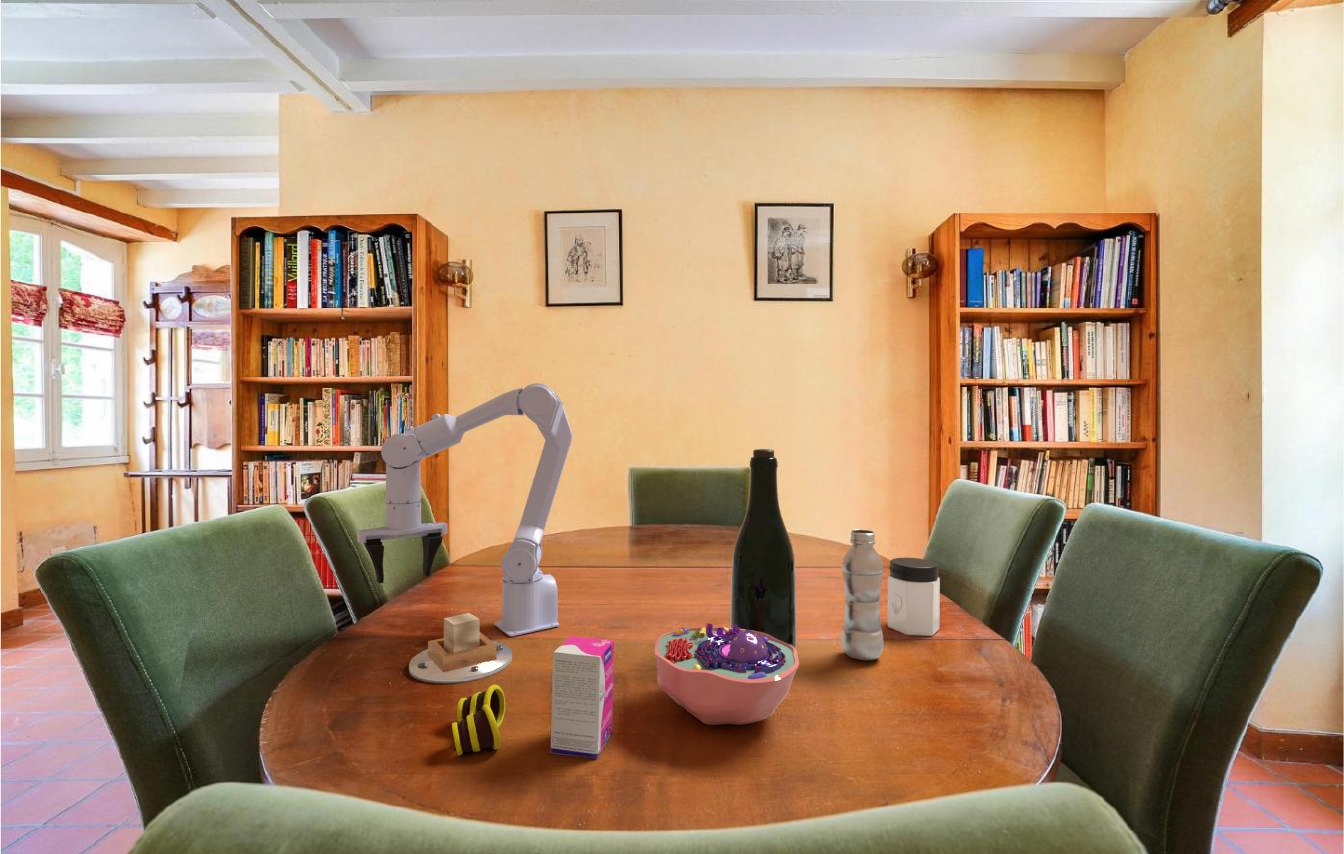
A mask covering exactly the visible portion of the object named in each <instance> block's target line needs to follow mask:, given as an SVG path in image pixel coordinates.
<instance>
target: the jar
mask: <svg viewBox="0 0 1344 854" xmlns="http://www.w3.org/2000/svg"><path fill="white" fill-rule="evenodd" d="M940 580H941V579H940V577H939V564H938V563H936V562H935V561H934V560H933V561H932V560H931V559H925V558H920V557H919V558H918V557H897V558H896V557H895V558H892V559H891V560H890V561H889V575H888V576H887V627H888V628H890V629H892V630H893V631H897V632H898V633H902V634H903V635H906V636H919V637H920V636H921V637H923V636H924V637H926V636H927V637H933V636H934V635H935V634H936V633H937V632H938V631H939V630H940V610H941V609H940V607H941V606H940V605H941V604H940V603H941V602H940V600H941V599H940V597H941V596H940V593H941V592H940V588H941V587H940V586H941V585H940V584H941V583H940V582H941V581H940Z"/></svg>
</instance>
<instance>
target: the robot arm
mask: <svg viewBox="0 0 1344 854" xmlns="http://www.w3.org/2000/svg"><path fill="white" fill-rule="evenodd" d="M566 412H567V411H566V409H565V406H564V403H563V401H562V400H561V398H560V397H559V395H558V394H557V393H556V391H555V390H553V389H552V388H551V387H550V386H548V385H546V384H544V383H541V382H534V383H530V384H528V385H527V386H525V387H523V388H522V387H519V388H515V389H512V390H510V391H506V392H505V393H502V394H500V395H498V396H495V397H494V398H492V399H490V400H488V401H485V402H484V403H482V404H479V405H477V406H475V407H473V408H471V409H469V410H468V411H465V412H463V413H461V414H460V415H458V416H454V415H451V414H448V413H444V414H442V415H441V414H440V413H435V414H433V415H431V416H430V418H431V420H429V421H427V422H424V423H422V424H420V425H417V426H416V427H414V426H409V427H407V428H406V429H405V430H406V433H394V434H392V435H391V436H390V437H388V438H387V439H386V440H385V441H384V442H383V444H382V445H381V449H380V453H381V457H382V460H383V461H384V462H385V470H386V472H385V526H379V527H375V528H374V527H373V528H367V529H359V530H356V533H357V535H356V540H357V542H358V544H363V546H364V548H365V549H366V551H367V553H368V556H369V557H370V561H371V563H372V566H373V568H374V571H375V576H376V582H377V583H378V584H384V581H385V577H384V573H385V572H384V555H385V554H384V552H385V546H384V545H383V541H386V540H394V539H395V540H396V539H407V538H414V537H417V538H418V537H421V543H422V552H423V553H422V554H423V556H422V558H423V559H422V575H423V576H424V577H426V578H428V577H431V571H432V566H433V563H434V560H435V558H436V554H437V553H438V550H439V549H440V547H441V545H442V543H443V541H444V540H443V538H444V536H443V535H448V523H446V522H443V521H442V522H427V523H426V522H425V523H422V476H421V475H422V474H421V463H422V461H423V459H425V458H430V457H431V456H434V455H436V454H438V453H440V452H443V451H445V450H447V449H449V448H451V447H454V446H456V445H458V444H460V443H461V442H462V439H463V437H464V434H465V433H466V432H468V431H471V430H473V429H475V428H478V427H481V426H483V425H485V424H488V423H491V422H492V421H495V420H497V419H499V418H502V417H504V416H524V415H525V416H526V417H527V418H528V419H530V421H532V422H533V423H534V424H535V425H536V426H537V429H538V430H539V432H540V434H541V435H542V437H543V438H544V440H545V441H544V444H543V448H542V450H541V454H540V457H539V460H538V463H537V467H536V470H535V473H534V477H533V480H532V484H531V486H530V490H529V492H528V496H527V498H526V499H527V500H526V502H525V504H524V505H525V506H524V509H523V512H522V516H521V518H520V522H519V525H518V527H517V530H516V533H515V536H514V539H513V541H512V543H511V544H510V546H509V547H508V549H507V551H505V552H504V554H503V556H502V558H501V563H500V564H501V570H502V573H503V574H502V577H501V578H502V579H501V583H502V584H501V589H502V590H501V594H502V595H501V602H502V603H501V615H502V616H501V620H498V621H494V623H493V624H494V626H496V627H497V628H498V630H501V631H502V632H503V633H504V634H505V635H507V636H508V637H514V636H520V635H526V634H528V633H529V634H530V633H534V632H537V631H544V630H548V629H551V628H556V627H560V623H559V622H558V619H559V618H558V611H559V610H558V608H559V607H558V605H559V604H558V603H559V602H558V594H559V593H558V586H557V582H556V581H557V580H556V579H555V577H554V576H553V575H552V574H548V573H547V574H544V573H543V571H542V570H541V569H540V567H539V563H540V562H541V561H542V558H543V546H542V540H543V536H544V533H545V528H546V526H547V522H548V519H549V516H550V512H551V509H552V507H553V503H554V500H555V497H556V493H557V490H558V486H559V483H560V480H561V476H562V474H563V471H564V467H565V464H566V460H567V457H568V453H569V451H570V447H571V445H572V441H573V430H572V428H571V424H570V422H569V419H568V416H567V413H566Z"/></svg>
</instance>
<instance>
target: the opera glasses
mask: <svg viewBox="0 0 1344 854" xmlns="http://www.w3.org/2000/svg"><path fill="white" fill-rule="evenodd" d="M456 709H457V710H456V714H457V715H456V717H457V721H456V722H452V723H451V728H452V735H453V740H454V745H455V746H454V747H455V750H456V755H457V756H458V757H460V756H461V755H463V753H464V752H466V753H469V752H471V751H473V752H474V753H476V752H480V751H481V750H482V749H488V748H492V749H493V750H495V751H496V750H499V748H500V747H501V735H500V730H499V727H500V726H501V725H502V723H503V720H504V717H505V712H506V698H505V693H504V691H503V689H502V688H501V687H500V685H498V684H492V685H490V686H489V687H488V688H487V689H486V690H484V691H478V692H476V693H474V694H473V695H470V696H469V697H468V696H467V697H461V698H460V699H459V700H458V703H457V707H456Z"/></svg>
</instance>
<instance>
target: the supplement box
mask: <svg viewBox="0 0 1344 854" xmlns="http://www.w3.org/2000/svg"><path fill="white" fill-rule="evenodd" d="M614 656H615V640H613V639H605V638H593V637H584V636H576V635H575V636H573V635H570V637H568V638H567V639H566V640H565V641H564V642H563V643H562V644H561V645H560V646H559V647H557V648H556V649H555V651H553V652H552V676H551V679H552V681H551V682H552V683H551V684H552V685H551V719H550V720H551V727H550V729H551V730H550V750H549V751H550V752H549V753H550V754H553V755H554V754H555V755H563V756H570V757H571V756H572V757H580V758H586V759H587V758H588V759H598V757H599V756H600V753H601V752H602V750H603V748H604V746H605V745H606V743H607V742H608V740H609V739H610V738H611V735H612V734H613V711H614V710H613V706H614V704H613V702H614V699H613V697H614V667H615V666H614V665H615V657H614Z"/></svg>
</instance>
